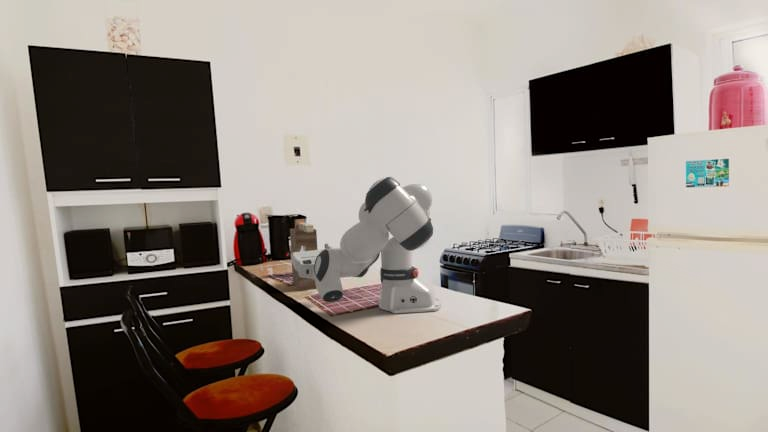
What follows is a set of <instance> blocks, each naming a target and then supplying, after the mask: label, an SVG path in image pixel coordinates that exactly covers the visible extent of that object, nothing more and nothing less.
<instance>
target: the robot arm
mask: <svg viewBox="0 0 768 432" xmlns="http://www.w3.org/2000/svg"><path fill="white" fill-rule="evenodd" d="M364 199H365V200H364V202H363V203H362V205H360V207H359V210H358V220H359V222H357V223H356V224H354V225H352V226H351V227H350V228H349V229H347V230H346V231H345V232H344V233H343V234H342V236H341V239H340V243H339V247H333V246H331V245H330V244H329V243H324V249H317V250H312V251H306V250H305V249H306V247H305V246H301V250H300V252H293V253H292V260H291V265H292V264H293V266H294V268H295V270H296V271H298V272H299V277H301V278H310V279H314V280H315V285H316V288H317V289H316V290H317V293H318V295H319V297H320V298H321V300H322V301H323V302H326V303H335V302H338V301H340V300H341V299H342V298H343V296H344V290H343V289H344V288H343V284H342V281H341V278H344V277H345V278H363V277H364V276H365V275H366V274H367V273H368V271H369V269H370V268H371V266H373V265H374V264H375V263H376V262H378V259H379V258H380V260H381V261H380V262H381V267H380V271H379V273H380V274H379V276H380V283H381V288H380V289H381V291H380V299H379V303H378V308H380V309H381V310H383V311H388V312H390V313H392V314H407V313H408V314H409V313H423V312H424V313H425V312H436V311H438V310H440V309H441V308H442V303H441V302H442V301H441V299H439V298H437V297H436V295H435V291H434V290H433V288H432V286H431V284H429V283H427V282H426V281H425V280H423V279H422V278H420V277H419V269H418V267H415V266H413V251H415V250H417V249H421V248H422V247H424V246H425V245H427V244H428V243H429V241H430V240H431V237H432V236H433V235H434V227H433V224H432V218H431V217H430V214H431V212H430V208H431V207H432V204H433V196H432V193H431V191H430V190H429V189H428V188H427V186H425V185H423V184H420V183H411V184H408V185H405V186H403V187H402V185H401V184H400V182H399V181H397V180H396V179H395V178H394V177H392V176H387V177H385V178H380V179H378V180H376V181H375V182H374V183H372V185H371V186H370V187H369V188H368V191H367V192H366V194H365V198H364ZM390 235H392V237H391V238H390Z"/></svg>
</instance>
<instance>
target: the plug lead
mask: <svg viewBox="0 0 768 432" xmlns="http://www.w3.org/2000/svg"><path fill="white" fill-rule="evenodd" d="M294 228H296V229H300V230H302V231H304V232H307V233H308V232H314V230H313V229H314V224H310V223H307V222H306V220H305V219H304V218H301V219H300V218H299V219H298V218H297V219H294Z"/></svg>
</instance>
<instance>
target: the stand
mask: <svg viewBox="0 0 768 432" xmlns="http://www.w3.org/2000/svg"><path fill="white" fill-rule="evenodd" d="M313 230H314V232H308V233H307V232H304V231H302V230H300V229H296V228H295V227H294V228H293V227H292V228H289V237H290V238H289V239H290V241H289V242H290V259H291V258H292V253H293V252H300V250H301V246H305V247H306V249H305V250H306V251H312V250H318V239H317V238H318V235H317V229H316V228H313ZM291 272H292V284H293V285H294V287H295V288H296V289H297V291H298V292H301V291H309V290H310V291H311V290H317V288H316V285H315V280H314V279H310V278H301V277H299V272H298V271H296V270H295V268H294V266H293V264H292V263H291Z"/></svg>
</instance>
